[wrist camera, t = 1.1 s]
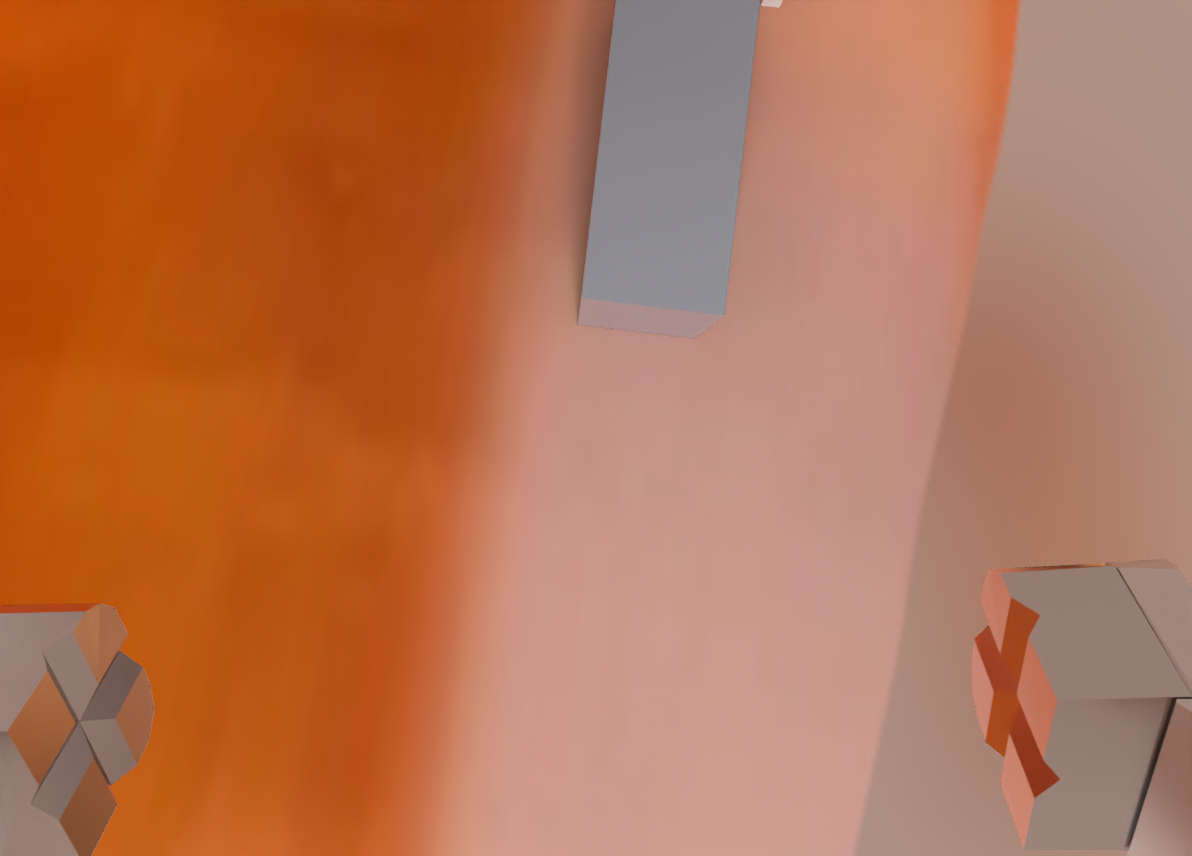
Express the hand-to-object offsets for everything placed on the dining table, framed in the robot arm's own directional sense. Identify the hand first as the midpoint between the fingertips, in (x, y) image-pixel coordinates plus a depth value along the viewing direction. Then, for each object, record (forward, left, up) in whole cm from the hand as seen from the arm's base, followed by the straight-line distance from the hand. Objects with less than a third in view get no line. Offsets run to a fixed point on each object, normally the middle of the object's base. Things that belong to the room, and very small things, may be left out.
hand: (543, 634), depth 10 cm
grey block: (-8, +11, -34) cm, 36 cm away
